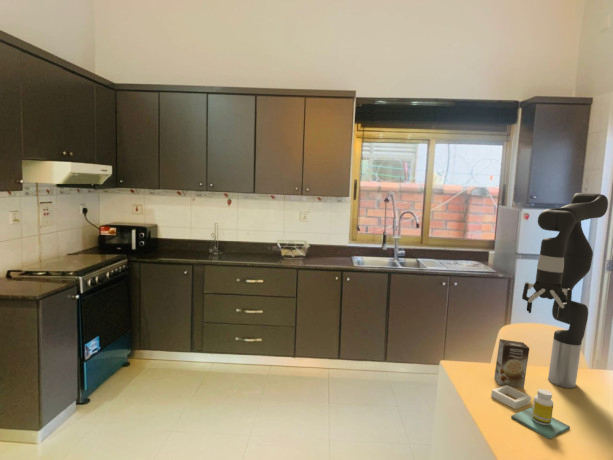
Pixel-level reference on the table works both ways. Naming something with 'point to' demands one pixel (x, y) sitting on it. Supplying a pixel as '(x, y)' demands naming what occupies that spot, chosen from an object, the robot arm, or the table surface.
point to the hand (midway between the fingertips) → (543, 315)
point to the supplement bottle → (542, 407)
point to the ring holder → (521, 397)
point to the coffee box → (511, 363)
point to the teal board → (545, 430)
